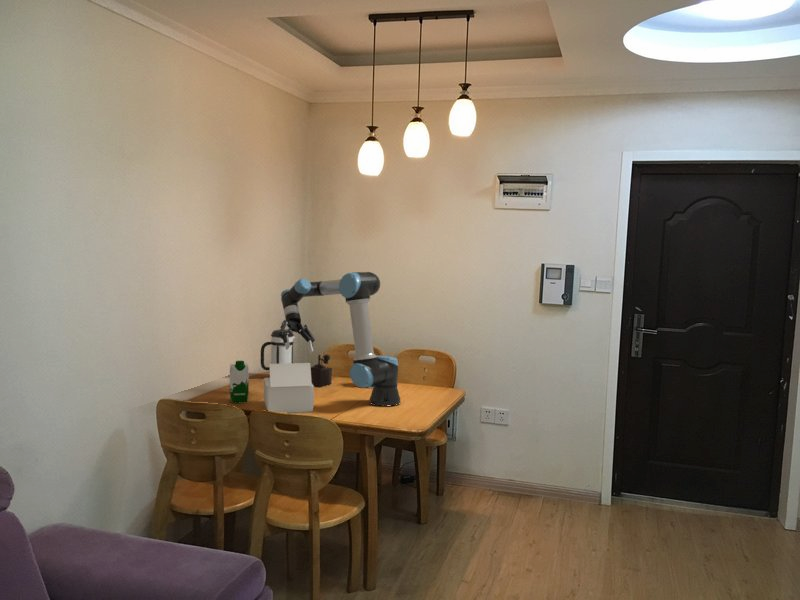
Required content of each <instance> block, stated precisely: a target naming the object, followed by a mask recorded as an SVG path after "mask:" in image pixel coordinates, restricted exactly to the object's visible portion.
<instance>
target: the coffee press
mask: <svg viewBox="0 0 800 600" xmlns="http://www.w3.org/2000/svg"><path fill="white" fill-rule="evenodd" d="M279 327H280V328H279V329H275V330H273V331H272V332H271V334H270V337H271V340H270V341H266V342H264V343H263V344H261V348H260V367H261V368H262V369H263V370H264V371H270V367H269V366H265V348H266V347H267V346H271V348H270V349H271V352H270V353H271V354H270V355H271V360H270V364H286V363H294V340H295V339H296V336H295V335H294V332H292V331H291V330H290V331H289V333H288V334H287V335H286V336H288V338H289V343H290V347H289V349H288V350H286V347H285V343H284V342H283V339H281V336H279V332H280V329H281V327H282V325H280V326H279ZM287 330H288V329H284V332H283V333H285V332H286V331H287ZM269 377H270V374H269Z"/></svg>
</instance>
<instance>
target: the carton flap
mask: <svg viewBox="0 0 800 600" xmlns="http://www.w3.org/2000/svg"><path fill="white" fill-rule="evenodd" d="M268 365H269V366H268V367H270V370H269V375H270V376H269V378H270V388H271V387H298V386H312V381H311V367H312V366H311V362H296V363H295V362H293V363H286V364H271V363H269V364H268Z"/></svg>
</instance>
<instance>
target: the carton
mask: <svg viewBox="0 0 800 600" xmlns="http://www.w3.org/2000/svg"><path fill="white" fill-rule="evenodd" d="M314 400H315V386H314V385H313V384H312V386H298V387H271V388H270V377H263V401H264V406H265V408H266V411H267V410H268V411H275V412H287V413H288V414H307V413H308V412H309V413H313V411H314V403H315V401H314ZM268 411H267V412H268ZM309 413H308V414H309Z"/></svg>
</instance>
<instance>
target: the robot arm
mask: <svg viewBox="0 0 800 600" xmlns="http://www.w3.org/2000/svg"><path fill="white" fill-rule="evenodd" d="M380 288H381V281H380V278H379V276H378V275H377V274H376V273H373V272H371V271H364V272H363V271H360V272H359V271H357V272H356V271H355V272H347V273H345V274H344V275H342V277H341V278H340V279H339V278H338V279H330V280H329V279H328V280H322V281H321V280H320V281H309V279H306V278H299V279H298V280H297V281H295V283H294V285H292V287H291V288H287V289H285V290H282V291H281V293H280V296H281V297H280V299H281V304H282V307H283V314H284V317H285V318H284V319H283V321H282V322H281V326H282V327H281V326H280V327H281V328H279V329H280V332H279V336H281V339H283V342H284V343H285V347H286V350H288V349H289V347H290V343H289V338H288V336H286V335H287V334H288V333H289V331H292V332H293V333H294V332H295V333H297V334H298V335H300V336H301V337H302V338H303V339H304V341H306V346H307V350H308V354H309V355H312V353H314V343H315V341H316V339H315V337H314V336H313V334H312V333H311V331H310V330H309V328H308V326H307V324H303V325H302V318H301V314H300V309H299V305H298V303H299V302H300V301H301V300H302V299H303V298H306V297H323V296H332V295H335V296H336V295H341V297H343V298H345V303H346V304H347V305H349V311H350V313H349V314H350V321H351V328H352V329H351V330H352V337H353V343H354V351H355V353H354V354H355V356H354V358H353V360H352V362H353V364H352V365H351V366H350V368H349V377H350V380H351V381H352V383H353V384H354V385H355V386H357V387H359V388H366V387H370V386H372V385H374V387H373V388H372V390H371V394H370V397H369V404H370V403H372V404H375V405H374V406H376V405H384V406H383V407H388V406H387V405H396V404H399V403H400V404H401V399H402V398H401V397H400V394H399V389H398V375H399V374H398V373H399V362H398V358H397V357H394V356H387V355H376V354H375V353H374V345H373V343H374V342H373V337H372V335H373V334H372V328H371V327H372V326H371V321H370V313H369V306H368V305H369V304H368V303H369V302H370V301H371V296H374V295H375V294H376V293H378V292H379V290H380ZM286 327H288V328H287V329H286V330H287V331H286V332H285V333H283V332H284V329H285V328H286ZM372 404H371V405H372ZM400 404H399V405H400ZM396 406H397V405H396Z"/></svg>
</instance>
